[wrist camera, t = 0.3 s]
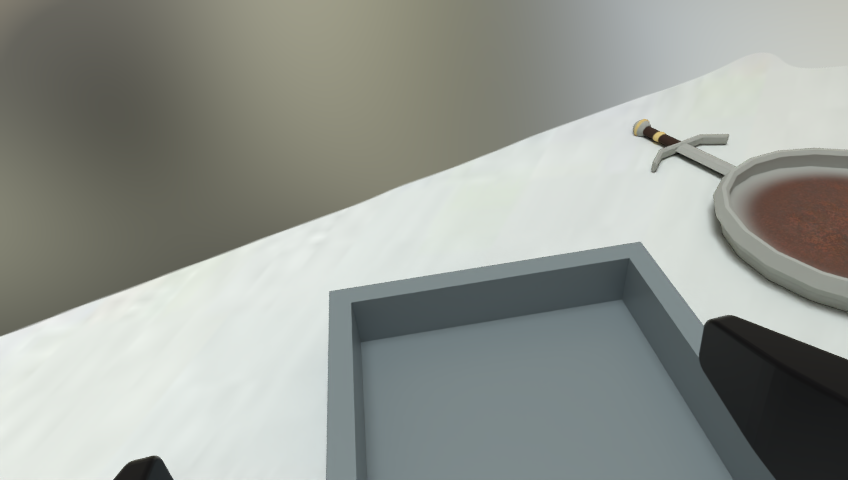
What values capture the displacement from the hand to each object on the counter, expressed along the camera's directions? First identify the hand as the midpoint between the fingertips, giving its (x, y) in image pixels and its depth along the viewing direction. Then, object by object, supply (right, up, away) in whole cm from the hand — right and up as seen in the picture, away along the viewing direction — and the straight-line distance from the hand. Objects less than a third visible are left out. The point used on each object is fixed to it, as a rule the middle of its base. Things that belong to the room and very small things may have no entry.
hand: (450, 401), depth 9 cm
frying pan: (+25, +5, +31) cm, 41 cm away
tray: (+5, -7, +17) cm, 19 cm away
